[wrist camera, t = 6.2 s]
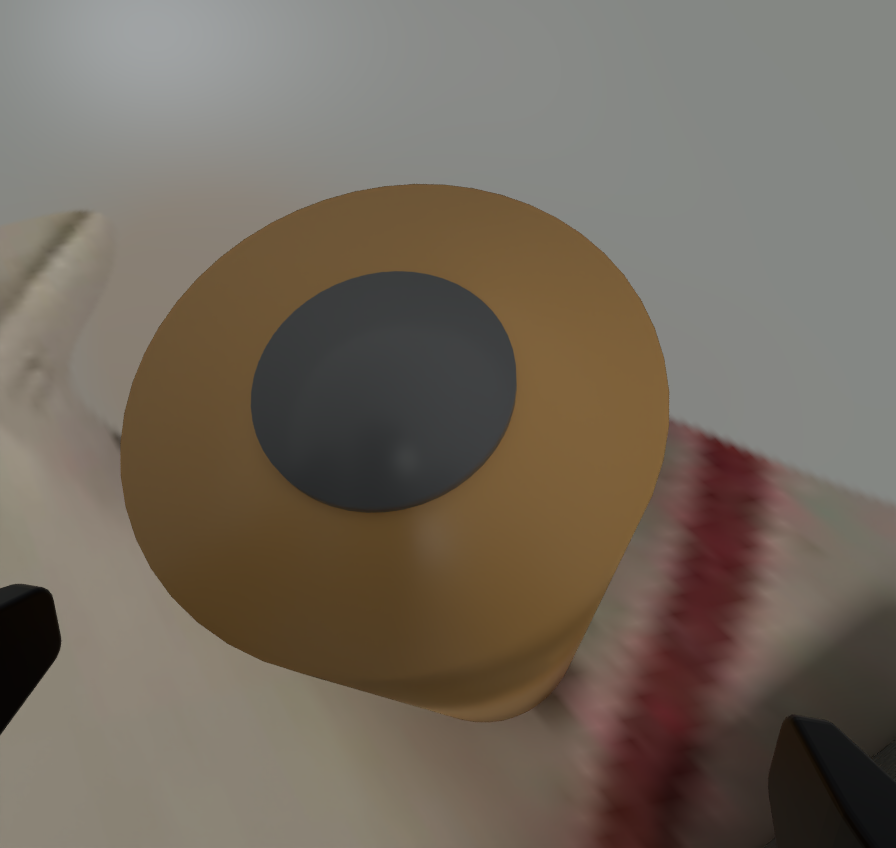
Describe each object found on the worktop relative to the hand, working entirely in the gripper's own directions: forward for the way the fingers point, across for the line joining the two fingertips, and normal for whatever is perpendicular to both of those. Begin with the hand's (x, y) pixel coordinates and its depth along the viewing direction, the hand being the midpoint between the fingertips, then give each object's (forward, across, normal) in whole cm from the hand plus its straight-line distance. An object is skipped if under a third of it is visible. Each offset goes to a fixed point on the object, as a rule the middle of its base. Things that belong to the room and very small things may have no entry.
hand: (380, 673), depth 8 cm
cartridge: (+8, 0, +5) cm, 10 cm away
